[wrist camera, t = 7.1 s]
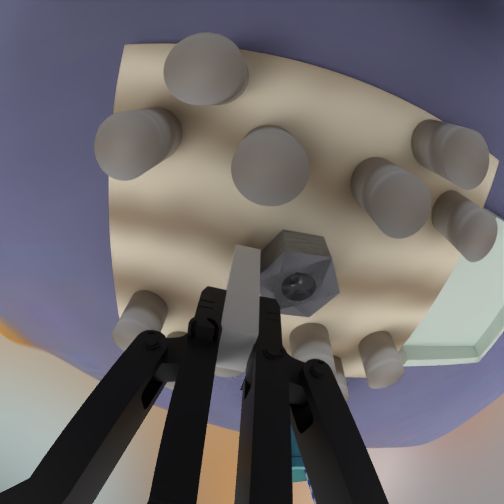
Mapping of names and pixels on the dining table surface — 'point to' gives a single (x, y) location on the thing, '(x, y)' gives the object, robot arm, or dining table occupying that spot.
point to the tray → (462, 313)
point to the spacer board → (219, 217)
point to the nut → (298, 273)
